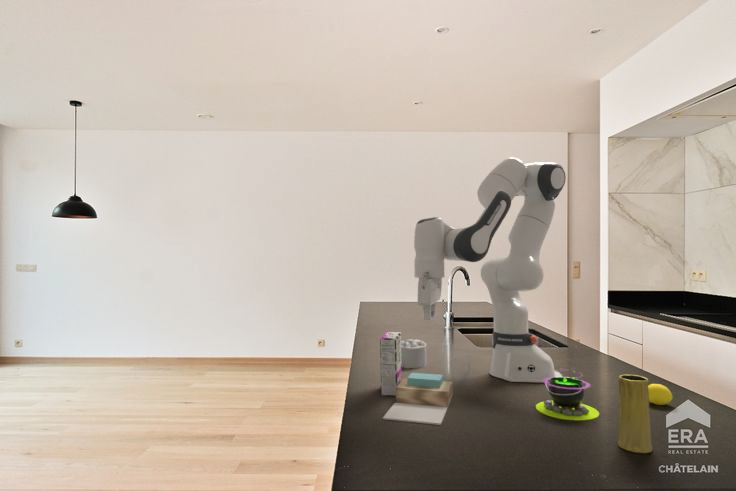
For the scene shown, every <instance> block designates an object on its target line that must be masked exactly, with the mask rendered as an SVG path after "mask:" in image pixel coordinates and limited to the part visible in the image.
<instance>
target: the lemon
mask: <svg viewBox="0 0 736 491" xmlns="http://www.w3.org/2000/svg"><path fill="white" fill-rule="evenodd" d="M648 390H649V403H651V404H654V405H658V406H663V405H664V406H665V405H667V404H669V403H671V401H672V400H673V398H674V396H673V393H672V392H671V391H670V389H669V388H668V387H667V386H665V385H663V384H660V383H650V384H648Z"/></svg>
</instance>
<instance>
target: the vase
mask: <svg viewBox="0 0 736 491" xmlns="http://www.w3.org/2000/svg"><path fill="white" fill-rule="evenodd" d="M648 385H649V379H648V378H647V377H645V376H643V375H637V374H621V375H619V376H618V389H619V390H618V391H619V410H618V413H619V414H618V417H619V418H618V419H619V420H618V440H617V445H618V446H619V448H620V449H623V450H625V451H627V452H630V453H635V454H651V452H652V451H653V446H652V435H651V434H652V433H651V432H652V431H651V419H650V418H651V417H650V401H649V390H648Z"/></svg>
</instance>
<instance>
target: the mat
mask: <svg viewBox="0 0 736 491" xmlns="http://www.w3.org/2000/svg"><path fill="white" fill-rule="evenodd" d="M447 411H448V407H441V406H430V405H419V404H408V403H397V402H394V403H393V404H392V406H391V407H389V409H388V410H387V412H386V413H385V415H384V416H383V417H382V420H390V421H395V422H397V421H399V422H404V423H405V422H407V423H418V424H424V425H425V424H427V425H437V426H442V423H443V421H444V418H445V416H446V413H447Z"/></svg>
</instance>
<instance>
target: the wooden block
mask: <svg viewBox="0 0 736 491" xmlns="http://www.w3.org/2000/svg"><path fill="white" fill-rule="evenodd" d="M407 378H408V377H407ZM407 378H406V377H403V378H402V381H401V382H400V384H399V385H398V386H397V387H396V396H395V403H405V404H416V405H427V406H438V407H447V408H449V406H450V404H451V402H452V399H453V397H454V396H453V395H454V393H453V388H454V387H453V386H454V385H453V382H454V381H445V380H443V383H442V385H441V387H440V388H436V387H423V386H410V385H407Z"/></svg>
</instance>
